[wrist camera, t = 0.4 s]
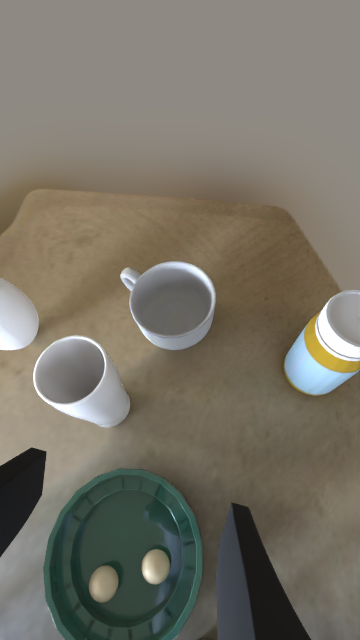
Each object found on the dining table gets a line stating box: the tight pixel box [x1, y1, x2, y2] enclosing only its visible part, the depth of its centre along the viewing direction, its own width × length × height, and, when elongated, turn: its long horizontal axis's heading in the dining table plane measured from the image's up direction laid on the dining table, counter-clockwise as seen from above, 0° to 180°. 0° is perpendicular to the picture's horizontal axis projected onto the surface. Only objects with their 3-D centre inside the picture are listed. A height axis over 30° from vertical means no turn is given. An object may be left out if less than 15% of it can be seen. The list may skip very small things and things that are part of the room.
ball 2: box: [142, 549, 170, 585], centre depth 32 cm, size 3×3×3 cm
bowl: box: [43, 469, 203, 640], centre depth 32 cm, size 15×15×4 cm
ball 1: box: [89, 565, 119, 603], centre depth 31 cm, size 3×3×3 cm
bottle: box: [284, 290, 360, 396], centre depth 36 cm, size 7×7×15 cm
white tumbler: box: [34, 335, 130, 427], centre depth 35 cm, size 7×7×15 cm
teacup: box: [121, 261, 216, 350], centre depth 43 cm, size 14×11×8 cm
